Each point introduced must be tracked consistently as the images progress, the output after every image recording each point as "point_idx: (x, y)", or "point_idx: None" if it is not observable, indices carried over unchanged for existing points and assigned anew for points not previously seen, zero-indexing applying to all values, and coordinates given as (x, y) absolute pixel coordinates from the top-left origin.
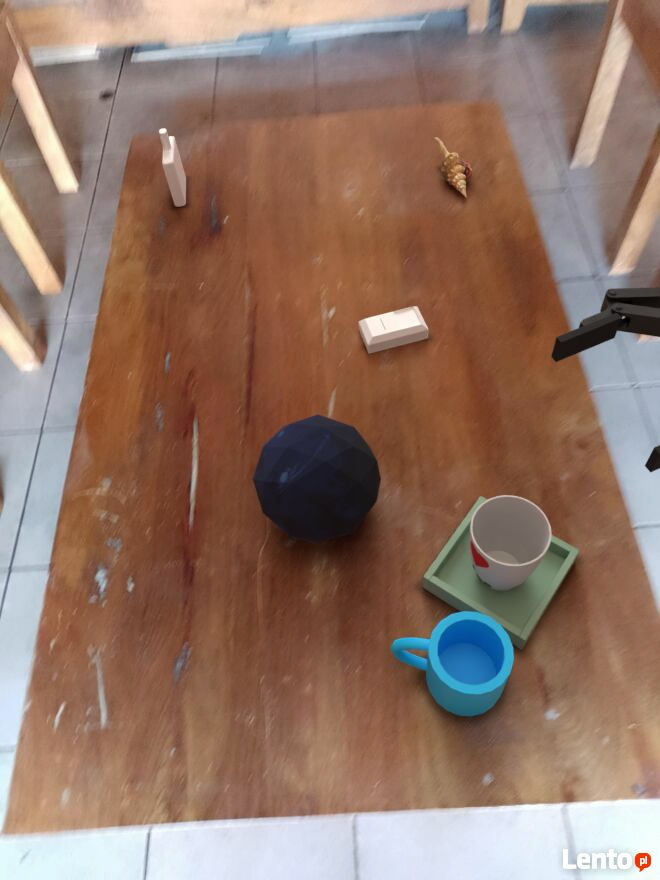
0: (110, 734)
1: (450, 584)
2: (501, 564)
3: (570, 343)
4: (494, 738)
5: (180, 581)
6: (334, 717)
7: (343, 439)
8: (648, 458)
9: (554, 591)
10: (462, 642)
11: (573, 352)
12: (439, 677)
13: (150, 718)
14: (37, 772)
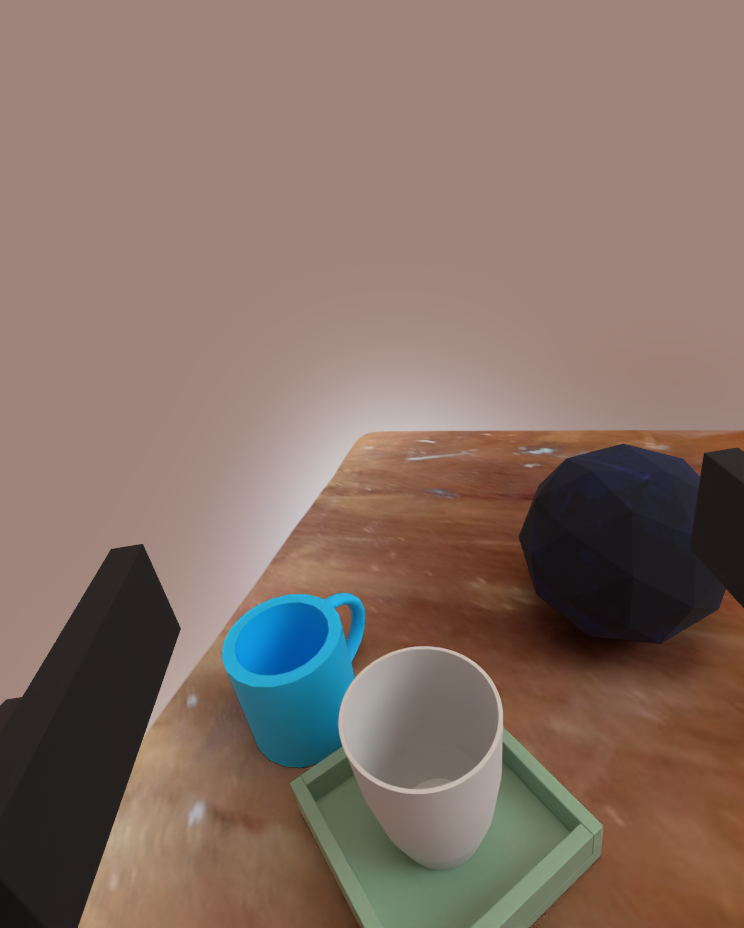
0: (399, 462)
1: None
2: (360, 674)
3: (729, 505)
4: (221, 723)
5: (527, 492)
6: (336, 583)
7: (644, 498)
8: (165, 595)
9: (343, 883)
10: None
11: (740, 588)
12: (274, 598)
13: (400, 478)
14: (391, 436)
